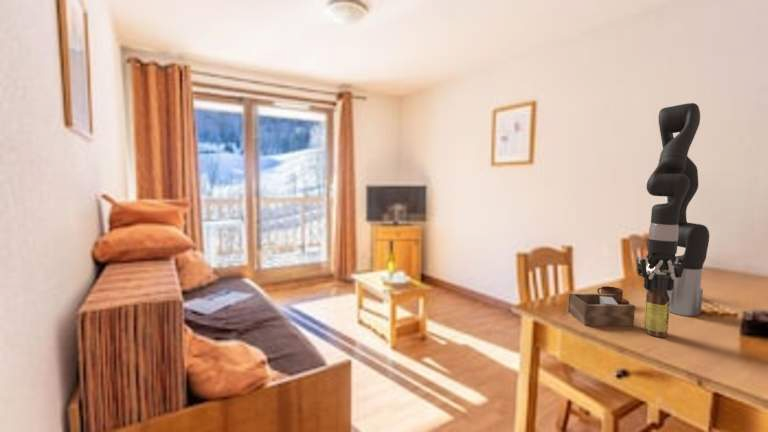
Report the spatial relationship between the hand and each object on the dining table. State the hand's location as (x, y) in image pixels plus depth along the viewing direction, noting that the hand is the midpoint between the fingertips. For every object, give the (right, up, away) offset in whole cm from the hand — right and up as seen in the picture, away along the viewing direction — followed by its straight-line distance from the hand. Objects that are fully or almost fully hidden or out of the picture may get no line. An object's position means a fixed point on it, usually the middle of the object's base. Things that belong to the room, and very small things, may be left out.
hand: (658, 289), depth 122 cm
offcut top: (-8, -10, +13) cm, 18 cm away
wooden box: (-11, -13, +14) cm, 22 cm away
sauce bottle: (0, -15, +2) cm, 15 cm away
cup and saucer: (+2, -11, +29) cm, 31 cm away
